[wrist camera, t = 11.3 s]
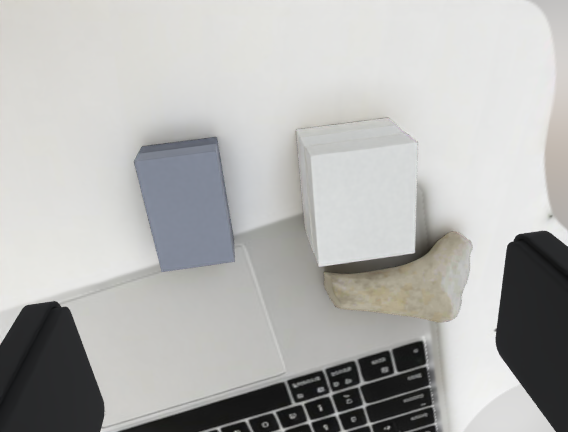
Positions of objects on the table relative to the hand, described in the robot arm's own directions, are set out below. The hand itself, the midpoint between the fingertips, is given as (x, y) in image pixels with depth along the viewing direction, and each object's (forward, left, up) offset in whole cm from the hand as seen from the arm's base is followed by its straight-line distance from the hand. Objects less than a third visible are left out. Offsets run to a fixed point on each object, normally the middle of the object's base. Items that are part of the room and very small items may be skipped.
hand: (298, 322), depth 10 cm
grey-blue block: (+7, -5, -23) cm, 25 cm away
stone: (+15, +9, -24) cm, 29 cm away
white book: (+7, +6, -20) cm, 22 cm away
